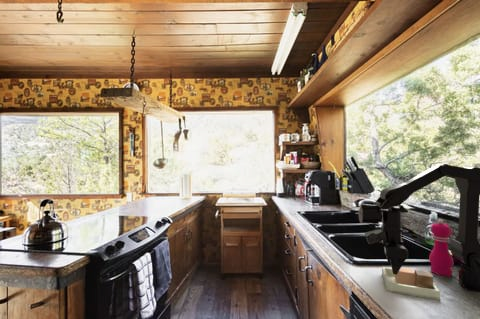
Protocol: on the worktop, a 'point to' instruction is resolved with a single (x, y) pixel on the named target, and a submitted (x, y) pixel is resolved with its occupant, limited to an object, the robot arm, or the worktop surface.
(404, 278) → the peach block
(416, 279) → the walnut block
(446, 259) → the pepper mill
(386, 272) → the tray
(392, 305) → the worktop surface
